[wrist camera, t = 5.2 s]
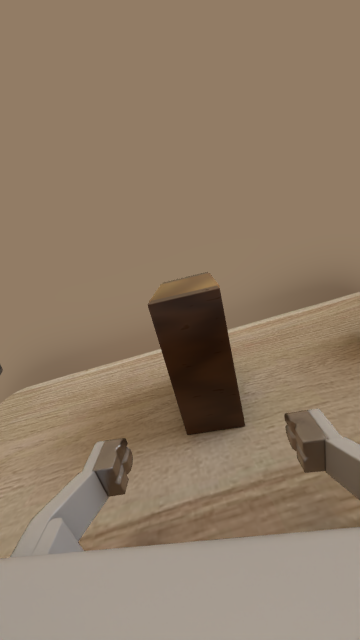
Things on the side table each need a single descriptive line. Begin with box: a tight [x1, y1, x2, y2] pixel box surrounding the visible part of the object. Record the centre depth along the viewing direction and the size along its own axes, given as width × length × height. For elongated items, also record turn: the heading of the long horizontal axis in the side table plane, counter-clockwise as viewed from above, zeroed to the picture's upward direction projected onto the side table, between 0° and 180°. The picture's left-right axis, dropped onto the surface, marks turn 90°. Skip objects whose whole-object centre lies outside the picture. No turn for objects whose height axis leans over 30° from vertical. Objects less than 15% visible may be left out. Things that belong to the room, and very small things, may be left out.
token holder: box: [148, 272, 245, 435], centre depth 20 cm, size 5×9×12 cm, turn 178°
